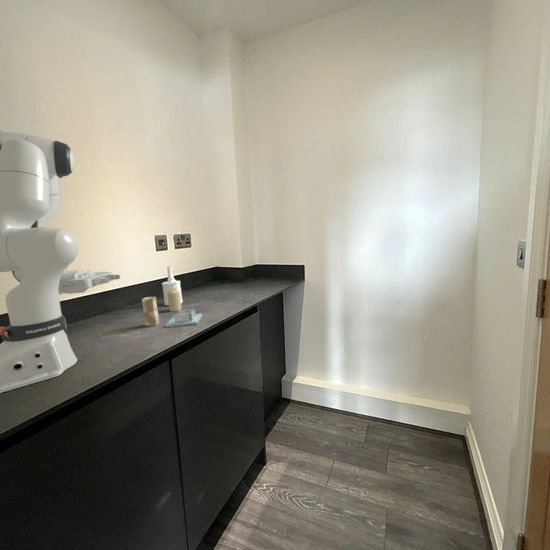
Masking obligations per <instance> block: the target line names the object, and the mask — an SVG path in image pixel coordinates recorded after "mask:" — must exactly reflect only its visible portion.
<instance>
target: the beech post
mask: <svg viewBox="0 0 550 550" xmlns="http://www.w3.org/2000/svg"><path fill="white" fill-rule="evenodd" d="M141 301H142V302H141V303H142V311H143V315H144V323H145V327H147V326H148V327H157V326H158V325H159V324H160V317H159V311H158V304H157V302H158V301H157V296H147V297H144V298H141ZM157 324H158V325H157Z"/></svg>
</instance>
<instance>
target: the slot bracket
mask: <svg viewBox="0 0 550 550" xmlns="http://www.w3.org/2000/svg"><path fill="white" fill-rule="evenodd" d="M177 312H178V313H177V314H173V316H174V319H175V323H176V322H186V321H192V320H193V319H194V317H195V316H196V314H197V313H196V308H190V309H189V308H186V309H181V310H178V311H177Z"/></svg>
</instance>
